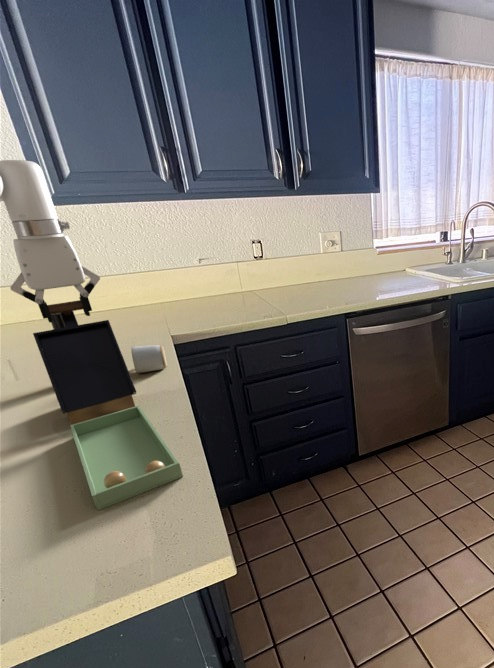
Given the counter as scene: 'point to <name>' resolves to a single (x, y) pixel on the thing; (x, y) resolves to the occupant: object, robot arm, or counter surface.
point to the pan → (83, 361)
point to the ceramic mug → (149, 358)
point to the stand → (100, 410)
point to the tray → (122, 455)
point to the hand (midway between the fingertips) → (69, 317)
